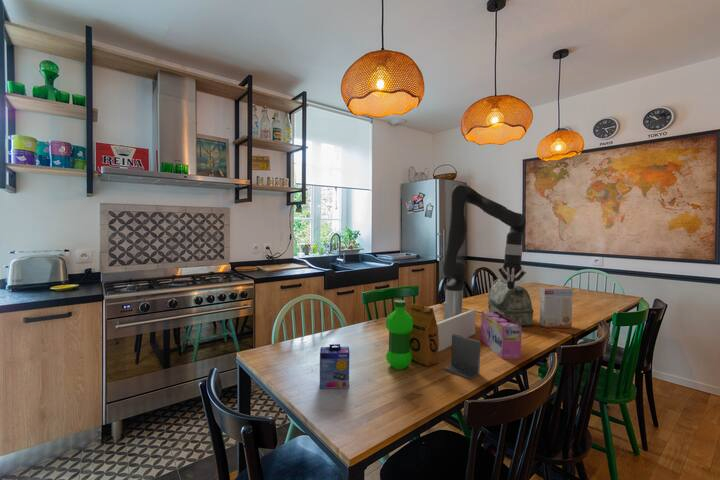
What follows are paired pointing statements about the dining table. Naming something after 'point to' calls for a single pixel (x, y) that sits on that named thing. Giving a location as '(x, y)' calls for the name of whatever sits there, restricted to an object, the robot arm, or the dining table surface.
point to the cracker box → (556, 307)
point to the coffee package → (424, 335)
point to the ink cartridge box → (334, 367)
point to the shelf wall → (456, 328)
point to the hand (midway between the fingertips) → (510, 288)
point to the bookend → (464, 357)
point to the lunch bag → (511, 302)
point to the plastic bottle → (399, 336)
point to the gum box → (501, 335)
